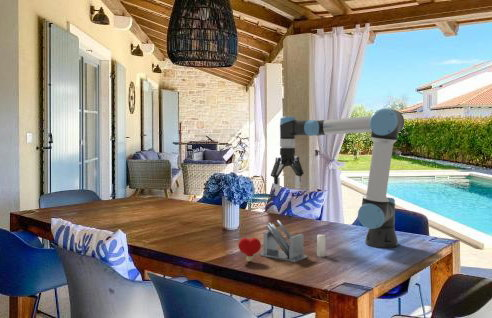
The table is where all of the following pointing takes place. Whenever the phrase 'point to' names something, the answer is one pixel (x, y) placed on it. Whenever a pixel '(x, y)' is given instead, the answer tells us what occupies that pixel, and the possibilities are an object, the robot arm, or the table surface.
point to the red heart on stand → (249, 247)
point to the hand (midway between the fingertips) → (287, 189)
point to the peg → (321, 245)
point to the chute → (282, 244)
